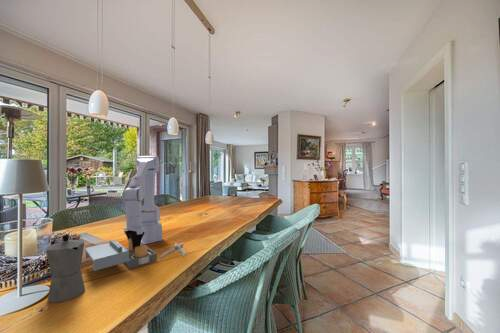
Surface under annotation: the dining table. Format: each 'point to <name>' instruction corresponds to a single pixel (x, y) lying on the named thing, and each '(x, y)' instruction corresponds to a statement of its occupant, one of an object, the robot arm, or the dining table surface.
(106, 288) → the dining table surface
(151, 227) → the robot arm
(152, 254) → the housing
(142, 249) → the jaw seated
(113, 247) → the lid
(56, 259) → the coffeepot
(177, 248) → the hammer
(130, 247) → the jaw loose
